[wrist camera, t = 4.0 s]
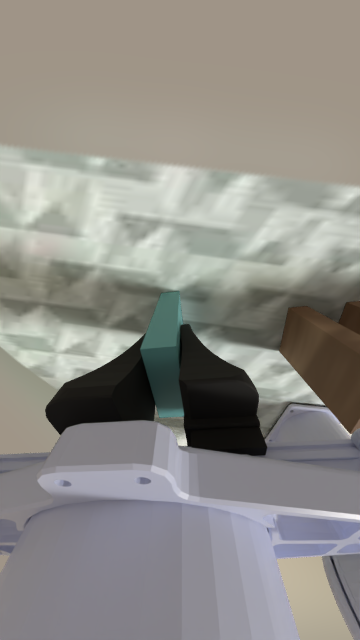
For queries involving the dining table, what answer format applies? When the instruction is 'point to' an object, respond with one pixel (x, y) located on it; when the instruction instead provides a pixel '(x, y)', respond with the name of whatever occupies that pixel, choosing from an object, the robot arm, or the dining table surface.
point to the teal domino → (165, 355)
